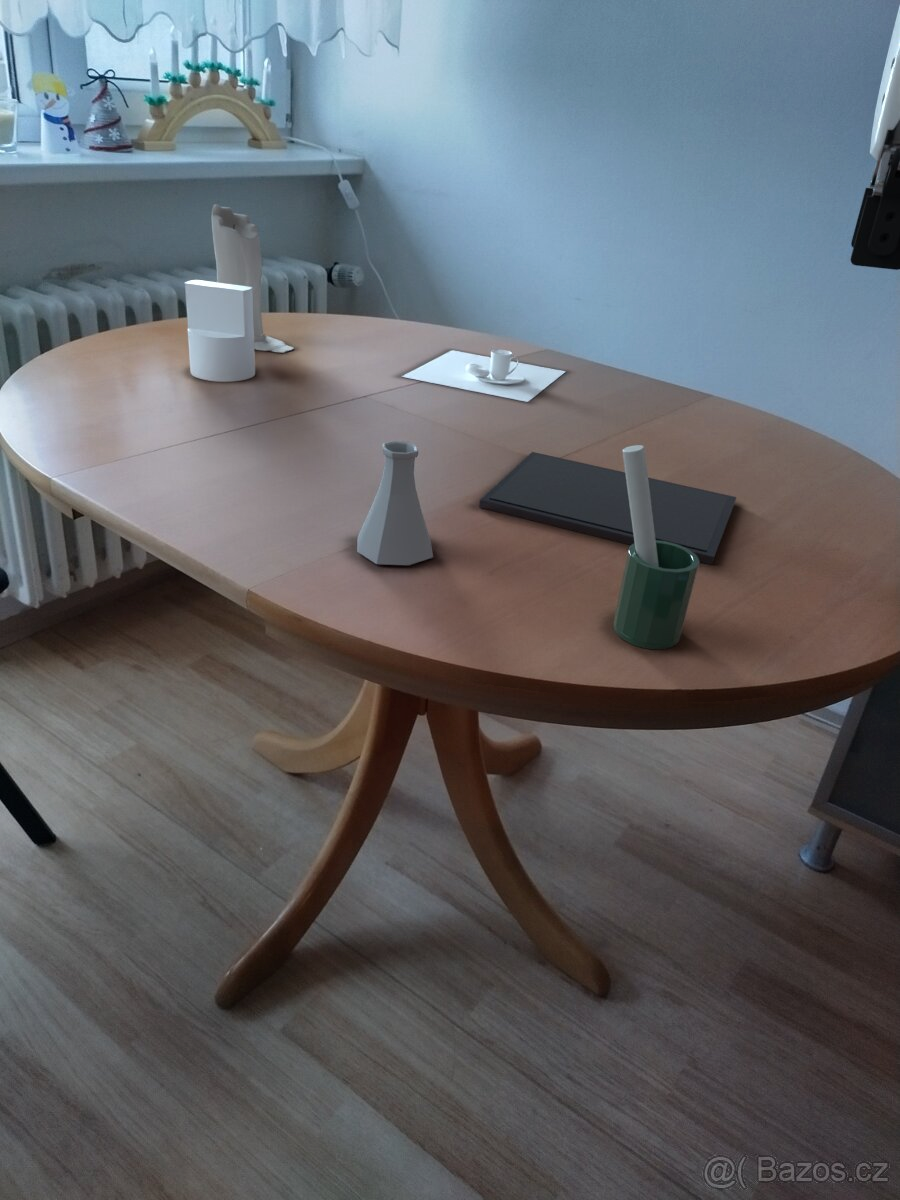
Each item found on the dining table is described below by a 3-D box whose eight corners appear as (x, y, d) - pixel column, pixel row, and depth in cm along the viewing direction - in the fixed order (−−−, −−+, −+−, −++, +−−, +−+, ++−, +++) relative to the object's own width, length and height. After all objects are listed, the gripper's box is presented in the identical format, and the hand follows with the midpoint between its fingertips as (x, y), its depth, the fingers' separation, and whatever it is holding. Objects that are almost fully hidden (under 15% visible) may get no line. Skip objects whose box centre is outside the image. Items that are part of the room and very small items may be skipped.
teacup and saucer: (459, 379, 130) (462, 352, 128) (478, 368, 137) (481, 342, 135) (514, 390, 128) (517, 362, 126) (531, 378, 134) (534, 351, 132)
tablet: (734, 504, 96) (736, 496, 95) (711, 565, 82) (714, 555, 82) (531, 458, 103) (532, 450, 103) (478, 507, 89) (479, 498, 89)
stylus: (667, 622, 70) (646, 444, 64) (664, 631, 69) (641, 450, 63) (648, 622, 71) (625, 446, 65) (644, 631, 70) (620, 452, 64)
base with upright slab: (178, 376, 120) (172, 286, 114) (208, 360, 128) (203, 276, 122) (239, 385, 119) (235, 294, 113) (265, 369, 127) (263, 283, 121)
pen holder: (685, 625, 72) (704, 550, 68) (673, 656, 67) (692, 578, 64) (621, 608, 73) (637, 534, 70) (606, 637, 69) (621, 560, 66)
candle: (274, 355, 134) (272, 215, 124) (208, 338, 139) (200, 203, 129) (304, 347, 139) (303, 212, 129) (239, 331, 145) (233, 201, 135)
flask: (345, 537, 81) (347, 435, 76) (416, 529, 84) (423, 430, 79) (370, 572, 75) (374, 465, 70) (446, 563, 78) (455, 458, 73)
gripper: (1063, -84, 42) (945, 282, 51) (1012, -30, 56) (925, 250, 65) (898, -83, 45) (811, 267, 53) (888, -31, 59) (820, 239, 67)
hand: (874, 257), depth 59 cm, fingers open, 9 cm apart
